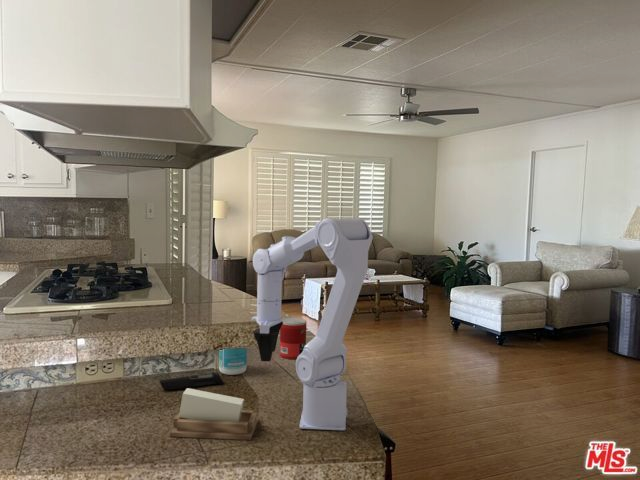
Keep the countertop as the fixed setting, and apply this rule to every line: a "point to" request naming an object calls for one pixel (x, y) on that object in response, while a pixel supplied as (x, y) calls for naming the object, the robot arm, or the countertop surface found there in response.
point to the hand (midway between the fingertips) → (268, 355)
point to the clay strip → (210, 406)
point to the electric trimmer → (191, 381)
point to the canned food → (292, 337)
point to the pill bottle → (232, 361)
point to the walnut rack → (216, 427)
